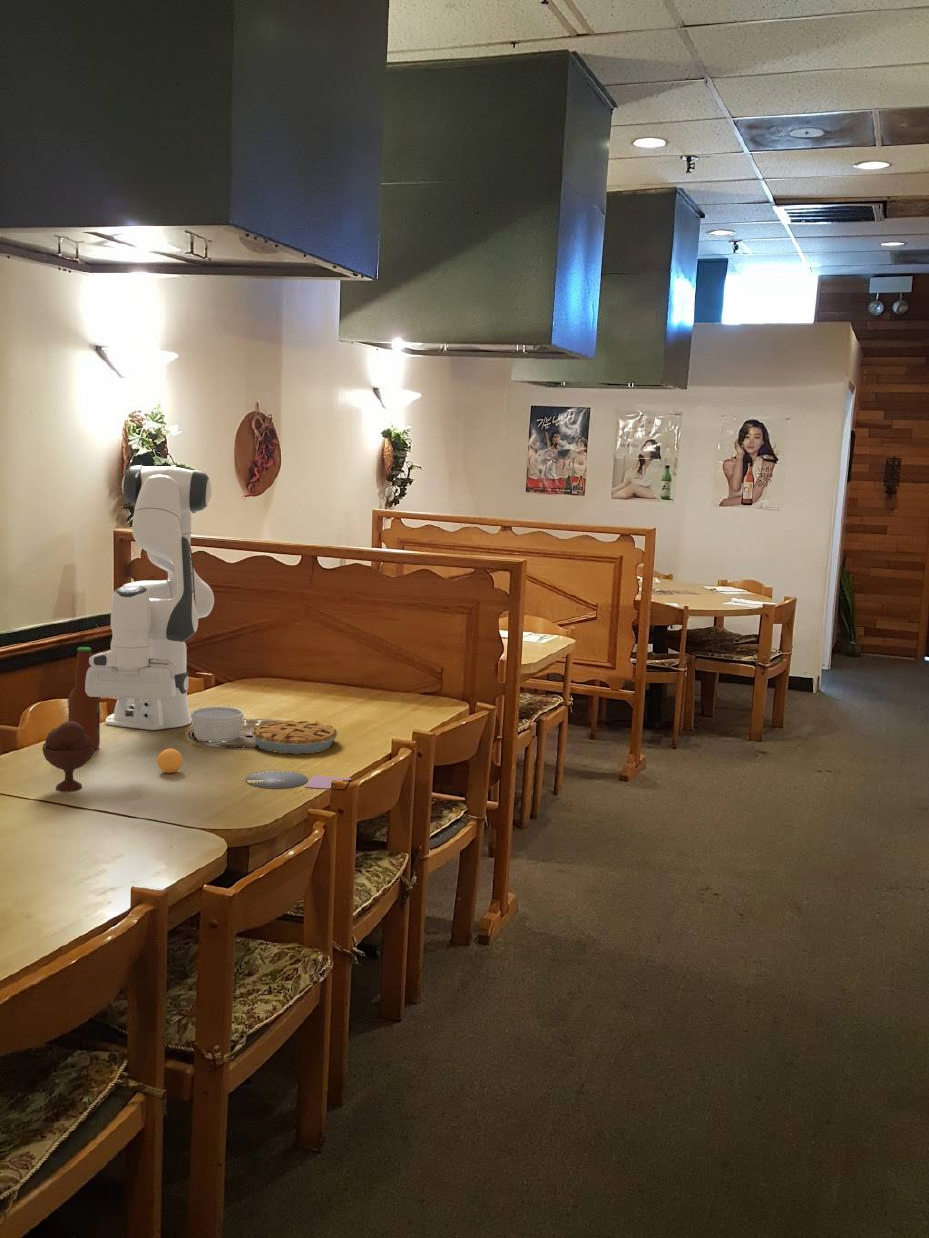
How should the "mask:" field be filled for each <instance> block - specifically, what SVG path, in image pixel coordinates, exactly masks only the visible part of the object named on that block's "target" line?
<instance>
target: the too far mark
mask: <svg viewBox="0 0 929 1238" xmlns="http://www.w3.org/2000/svg"><path fill="white" fill-rule="evenodd" d="M332 780H352V778H351V777H337V776H321V775H312V777H311V778H310V779H309V780H308V781H307V782H306V785H304V786H305V787H304V788H307V789H321V790H331V789H330V788H331V781H332Z"/></svg>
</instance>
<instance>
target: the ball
mask: <svg viewBox="0 0 929 1238" xmlns="http://www.w3.org/2000/svg"><path fill="white" fill-rule="evenodd" d="M183 761H184V760H183V756H182V753H181V752H180V751H179V750H177V749H176V748H175V749H174V748H167V749H164V750H162V751H161V752H160V753H159V755H158V757H157V765H158V768H159V769H160V770H161V771H162V772H164V773H167V774H172V773H176V772H178V771H179V770H180V769H181V767H182V765H183Z"/></svg>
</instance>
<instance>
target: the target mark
mask: <svg viewBox="0 0 929 1238" xmlns="http://www.w3.org/2000/svg"><path fill="white" fill-rule="evenodd" d="M264 771H265V772H264V774H263V773H262V771H260V772H261V773H260V774H259V775H258V773H257V772H253V773H251V774H249V775H247V776H246V778H245V781H246V780H264V781H262V782H259V781H258V783H257V782H255V783H252V782H251V783H250V784H252V785H251V786H254V787H256V786H257V788H261V789H270V790H271V789H272V790H275V789H276V790H283V789H292V788H296V787H300V786H303V785H305V784H307V783H308V782H309V780H308V778H309V777H307V776H306V775H304V773H300V772H296V771H291V773H290V772H289V770H273V771H274V772H273V773H272V772H271V771H272V770H268V771H269V772H268V773H267V772H266V771H267V770H264ZM276 771H279V772H276ZM282 771H284V772H283V773H282ZM286 771H288V772H286ZM254 773H256V774H255V775H254ZM265 780H266V781H265ZM271 780H272V781H271ZM278 780H281V781H278ZM283 780H284V781H283ZM250 784H249V785H250Z"/></svg>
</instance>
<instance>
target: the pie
mask: <svg viewBox="0 0 929 1238" xmlns="http://www.w3.org/2000/svg"><path fill="white" fill-rule="evenodd" d="M251 736H252V738H253V739H254V740H255V742H256V745H257V747H258V746H259V747H258V748H259V749H260V748H261V750H263V749H264V750H263V751H266V752H270V751H276V752H281V753H280V754H283V753H295V754H294V755H301V754H300V753H312V754H314V753H313V752H317V753H319V752H318V751H321V752H323V751H326V750H328V749H329V748H330V747H331V745H332V744H333V742H334V740H336V738H337V736H338V731H337V730H336V728H334V727H333V726H332V725H330V724H322V723H320V722H318V721H315V722H309V721H308V720H301V721H294V720H285V721H279V720H275V721H271V722H270V723H268V722H263V723H261V724H260V726H255V727H254V729H253V731H252V733H251ZM276 752H275V753H276ZM298 753H299V754H298Z"/></svg>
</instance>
